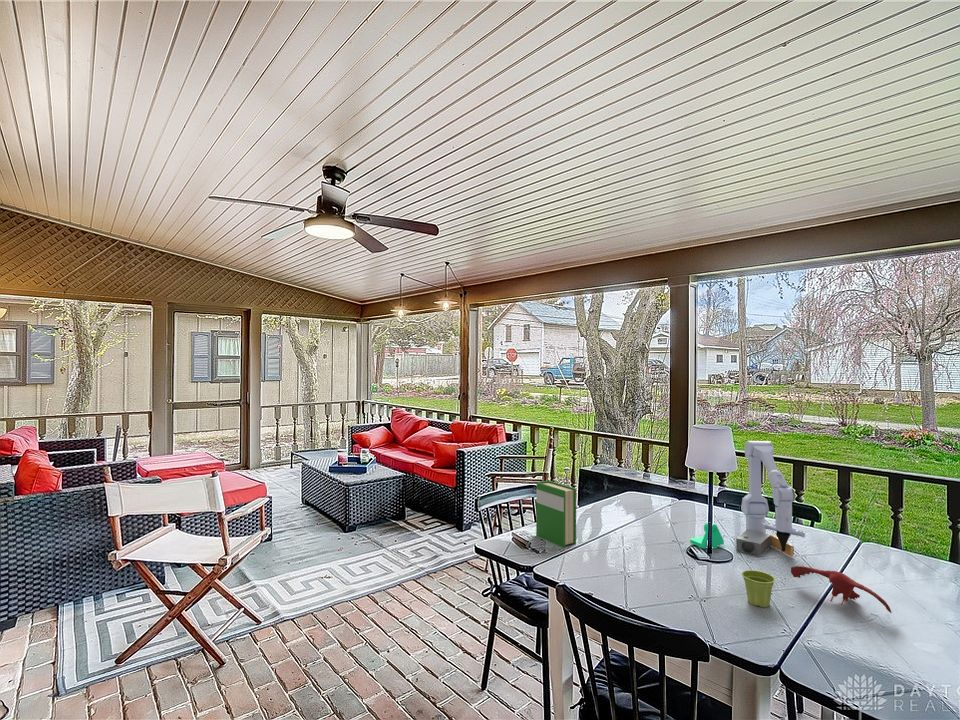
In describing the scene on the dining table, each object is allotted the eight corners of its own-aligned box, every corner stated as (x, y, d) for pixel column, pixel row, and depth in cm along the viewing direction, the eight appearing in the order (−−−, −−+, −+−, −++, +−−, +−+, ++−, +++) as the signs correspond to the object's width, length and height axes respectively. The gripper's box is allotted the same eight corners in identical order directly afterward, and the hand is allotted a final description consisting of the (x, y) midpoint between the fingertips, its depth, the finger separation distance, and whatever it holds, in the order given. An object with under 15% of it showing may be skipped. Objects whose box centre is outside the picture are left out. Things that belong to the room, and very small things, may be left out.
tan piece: (770, 545, 204) (769, 534, 204) (773, 545, 204) (773, 534, 204) (790, 557, 191) (790, 545, 191) (794, 556, 191) (794, 545, 191)
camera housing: (747, 540, 211) (747, 527, 211) (771, 546, 204) (771, 532, 205) (735, 550, 199) (735, 537, 199) (759, 557, 192) (759, 543, 192)
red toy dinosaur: (797, 597, 168) (780, 571, 163) (808, 575, 171) (791, 549, 166) (897, 637, 143) (879, 608, 138) (907, 611, 146) (890, 581, 141)
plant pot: (759, 612, 149) (759, 584, 149) (735, 598, 158) (735, 571, 158) (782, 608, 151) (782, 580, 151) (757, 594, 160) (757, 568, 160)
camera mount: (708, 540, 211) (708, 517, 211) (723, 546, 204) (723, 522, 204) (689, 545, 206) (689, 521, 206) (704, 551, 199) (704, 526, 199)
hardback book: (576, 544, 205) (576, 488, 206) (563, 547, 201) (563, 490, 202) (548, 532, 220) (548, 480, 220) (536, 535, 216) (536, 482, 216)
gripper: (760, 515, 196) (760, 548, 195) (802, 523, 185) (802, 558, 185) (765, 511, 201) (765, 543, 200) (806, 519, 190) (806, 553, 190)
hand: (783, 550), depth 193 cm, fingers closed
